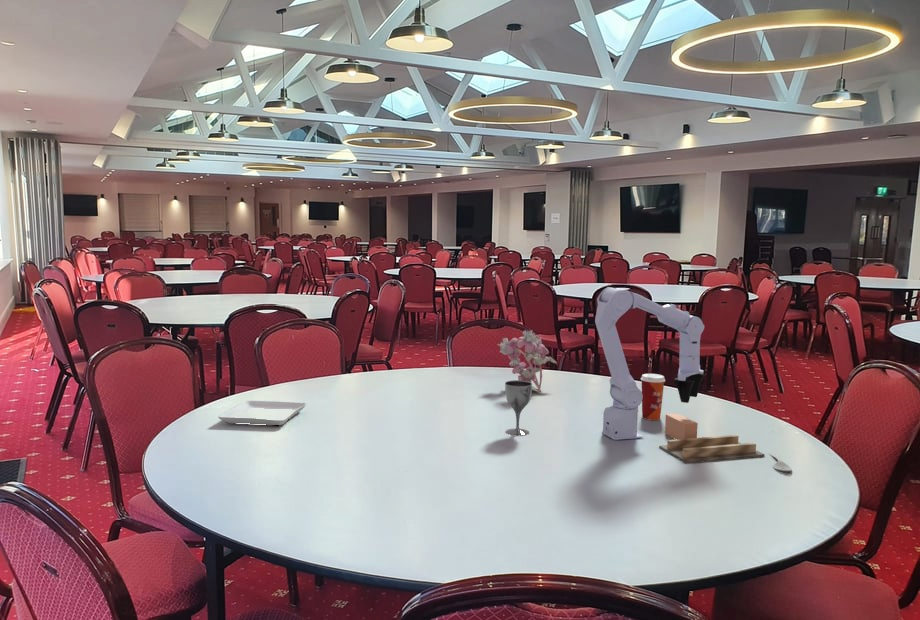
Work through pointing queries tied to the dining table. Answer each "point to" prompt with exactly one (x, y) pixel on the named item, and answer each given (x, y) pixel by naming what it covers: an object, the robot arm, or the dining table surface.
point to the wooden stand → (710, 449)
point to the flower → (526, 356)
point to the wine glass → (518, 401)
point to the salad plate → (246, 405)
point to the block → (680, 427)
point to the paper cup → (652, 395)
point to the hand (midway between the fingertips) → (689, 399)
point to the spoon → (780, 463)
